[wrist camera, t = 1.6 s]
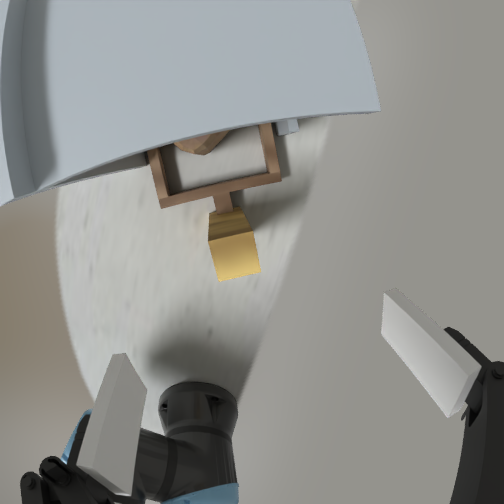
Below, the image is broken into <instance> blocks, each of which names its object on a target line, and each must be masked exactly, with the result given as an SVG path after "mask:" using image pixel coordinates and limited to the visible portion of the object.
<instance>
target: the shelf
mask: <svg viewBox="0 0 504 504" xmlns="http://www.w3.org/2000/svg"><path fill="white" fill-rule="evenodd" d="M379 111H381V108H380V103H379V98H378V93H377V88H376V84H375V80H374V75H373V71H372V67H371V63H370V60H369V56H368V52H367V49H366V45H365V42H364V39H363V36H362V32H361V29H360V26H359V23H358V20H357V18H356V15H355V12H354V9H353V6H352V4H351V1H350V0H0V206H2V205H5V204H8V203H10V202H13V201H16V200H19V199H22V198H25V197H28V196H31V195H34V194H37V193H40V192H44V191H47V190H50V189H54V188H57V187H61V186H64V185H68V184H72V183H75V182H79V181H83V180H87V179H91V178H95V177H99V176H103V175H108V174H112V173H117V172H122V171H126V170H131V169H136V168H141V167H144V166H147V164H146V159H145V155H144V151H147V150H150V149H154V148H157V147H161V146H164V145H168V144H171V143H175V142H179V141H183V140H187V139H191V138H195V137H199V136H203V135H208V134H212V133H217V132H221V131H226V130H231V129H236V128H241V127H247V126H253V125H259V124H265V123H271V122H274V123H275V128H276V133H277V136H280V135H286V134H290V133H294V132H298V131H299V127H298V122H297V119H301V118H310V117H320V116H332V115H347V114H364V113H365V114H368V113H373V112H379Z"/></svg>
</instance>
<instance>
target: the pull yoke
mask: <svg viewBox="0 0 504 504" xmlns="http://www.w3.org/2000/svg"><path fill="white" fill-rule="evenodd" d="M258 127H259V132H260V137H261V142H262V147H263V152H264V157H265V162H266V168H267V173H262V174H257V175H252V176H247V177H242V178H238V179H233V180H228V181H224V182H219V183H215V184H211V185H207V186H202V187H198V188H194V189H190V190H186V191H182V192H178V193H175V194H171V195H170V191H169V187H168V183H167V179H166V174H165V170H164V166H163V162H162V157H161V153H160V148H159V147H157V148H154V149H150V150H147V153H148V157H149V162H150V166H151V171H152V175H153V179H154V183H155V187H156V191H157V195H158V199H159V203H160V206H161V209H162V208H166V207H170V206H174V205H178V204H182V203H185V202H189V201H194V200H198V199H202V198H206V197H210V196H213V198H214V203H215V207H216V211H217V212H214V213H209V232H208V243H209V247H210V251H211V255H212V258H213V262H214V266H215V270H216V273H217V277H218V281H219V282H220V281H224V280H229V279H233V278H237V277H242V276H246V275H250V274H254V273H259V272H261V269H260V264H259V259H258V254H257V249H256V244H255V239H254V234H253V230H252V228H251V226H250V225H249V223H248V221H247V219H246V217H245V215H244V213H243V211H242V209H241V207H235V208H233V207H232V202H231V198H230V193H229V192H232V191H236V190H241V189H246V188H250V187H255V186H260V185H265V184H270V183H275V182H280V181H282V179H281V174H280V168H279V163H278V158H277V152H276V147H275V142H274V137H273V132H272V127H271V123H265V124H259V125H258Z"/></svg>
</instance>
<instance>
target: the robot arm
mask: <svg viewBox="0 0 504 504" xmlns="http://www.w3.org/2000/svg"><path fill="white" fill-rule="evenodd" d="M381 335H382V336H383V337H384V338H385V339H386V341H387V342H388V343H389V344H390V346H391V347H392V348H393V349H394V350H395V352H396V353H397V354H398V355H399V356H400V358H401V359H402V360H403V361H404V363H405V364H406V365H407V366H408V368H409V369H410V370H411V371H412V373H413V374H414V375H415V376H416V378H417V379H418V380H419V381H420V382H421V384H422V385H423V387H424V388H425V389H426V390H427V392H428V393H429V394H430V396H431V397H432V398H433V400H434V401H435V402H436V403H437V405H438V406H439V407H440V409H441V410H442V411H443V413H444V414H445V415H446V417H447V418H449V417H450V416H452V415H453V414H455V413H456V412H457V411H459V410H460V409H461V407H462V405H463V404H464V402H466V403H467V404H468V407H467V408H466V410H465V412H464V414H463V415H462V418H461V420H463V419H464V417H465V416H466V421H465V430H464V438H463V445H462V452H461V457H460V463H459V468H458V473H457V477H456V482H455V486H454V490H453V494H452V497H451V501H450V504H504V362H500V361H496V362H491V361H490V360H489V359H488V358H487V357H485V356H484V354H482V353H481V352H480V351H479V350H478V349H477V348H476V347H475V346H474V345H473V344H471V343H470V341H469V340H467V339H465V337H464V336H463V335H462V334H461V333H460V332H459V331H457V330H455V329H452V328H450V327H447V328H445V329H442V328H441V327H440V326H439V325H438V324H437V323H436V322H434V321H433V320H432V319H431V318H430V317H429V316H428V315H427V314H426V313H424V312H423V311H422V310H421V309H420V308H419V307H418V306H416V305H415V304H414V303H413V302H412V301H411V300H409V299H408V298H407V297H406V296H405V295H404V294H403V293H401V292H400V291H399V290H398V289H397V288H395V289H392V290H389V291H386V292H384V302H383V317H382V330H381ZM146 394H147V389H146V387H145V385H144V384H143V382H142V381H141V379H140V377H139V376H138V374H137V372H136V371H135V369H134V367H133V366H132V364H131V362H130V360H129V359H128V357H127V355H126V353H122V354H114V355H112V358H111V360H110V363H109V366H108V368H107V371H106V373H105V376H104V379H103V382H102V384H101V387H100V390H99V393H98V395H97V398H96V401H95V404H94V407H93V409H88V410H87V411H85V412H84V414H83V415H82V417H81V418H80V420H79V422H78V424H77V426H76V428H75V430H74V431H73V434H72V435H71V437H70V439H69V441H68V444H67V446H66V448H65V450H64V453H63V455H62V457H61V459H59V458H58V457H56V456H50V457H47V458H45V459H44V460H43V461H42V463H41V464H40V468H39V473H40V475H41V476H42V477H40V476H39V475H37V474H36V473H34V472H27V473H25V474H24V475H23V476H22V478H21V483H20V487H21V496H22V504H145V500H146V499H149V500H153V501H157V502H160V503H161V504H238V502H239V497H238V487H239V484H238V483H237V478H236V470H235V463H234V455H233V448H232V435H233V432H234V428H235V425H236V421H237V418H238V409H237V403H236V400H235V399H234V397H233V396H232V395H231V394H230V393H229V392H227V391H226V390H224V389H222V388H220V387H218V386H215V385H211V384H207V383H198V382H190V383H182V384H178V385H175V386H172V387H170V388H169V389H167V390H166V391H165V392H163V394H162V395H161V397H160V400H159V407H158V413H159V417H160V420H161V424H162V427H163V430H164V433H165V436H163V435H160V434H157V433H154V432H152V431H149V430H146V429H143V428H141V421H142V415H143V410H144V404H145V399H146Z"/></svg>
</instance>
